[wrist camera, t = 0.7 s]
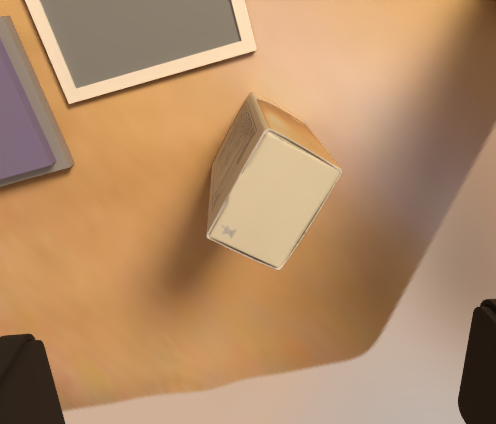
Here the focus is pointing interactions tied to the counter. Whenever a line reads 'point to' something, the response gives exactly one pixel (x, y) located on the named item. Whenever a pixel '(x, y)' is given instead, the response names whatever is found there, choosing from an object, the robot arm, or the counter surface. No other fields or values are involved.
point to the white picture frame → (136, 39)
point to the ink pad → (25, 117)
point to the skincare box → (267, 183)
